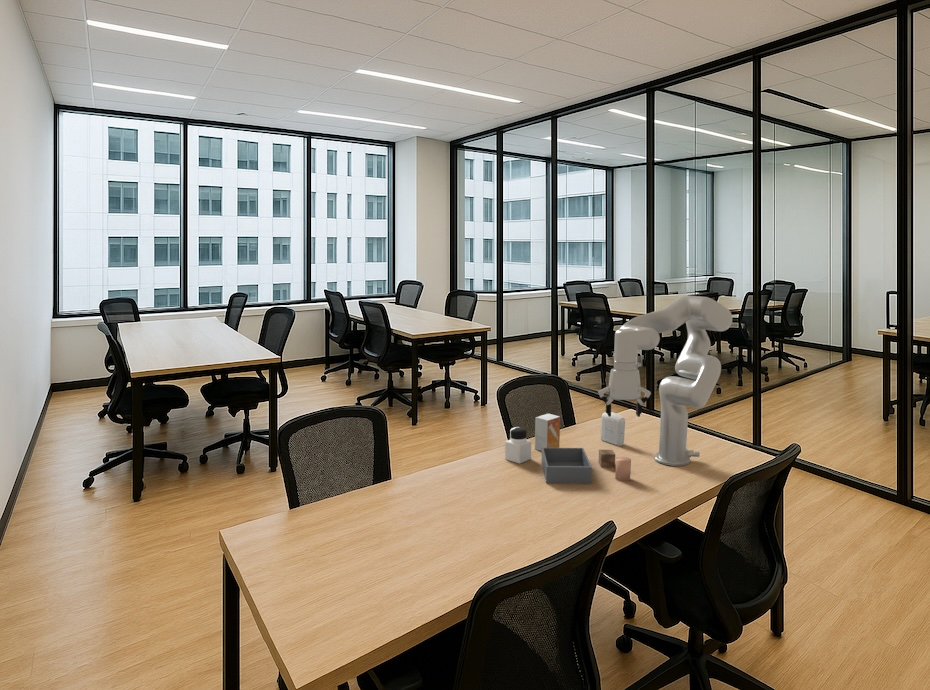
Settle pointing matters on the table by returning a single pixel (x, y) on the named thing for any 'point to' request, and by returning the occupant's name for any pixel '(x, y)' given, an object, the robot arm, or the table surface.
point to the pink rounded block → (623, 469)
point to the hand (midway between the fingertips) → (623, 415)
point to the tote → (566, 465)
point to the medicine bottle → (518, 446)
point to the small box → (547, 431)
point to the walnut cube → (606, 458)
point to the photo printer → (613, 428)
